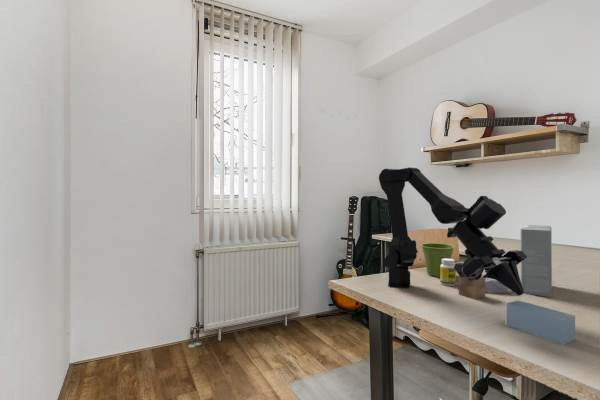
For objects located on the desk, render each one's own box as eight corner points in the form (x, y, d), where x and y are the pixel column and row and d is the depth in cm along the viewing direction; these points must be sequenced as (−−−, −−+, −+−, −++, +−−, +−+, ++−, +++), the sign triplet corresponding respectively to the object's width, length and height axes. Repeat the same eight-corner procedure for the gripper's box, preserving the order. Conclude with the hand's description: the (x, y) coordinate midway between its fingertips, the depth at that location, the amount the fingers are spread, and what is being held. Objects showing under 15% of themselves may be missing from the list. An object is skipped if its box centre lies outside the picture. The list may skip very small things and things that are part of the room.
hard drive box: (523, 281, 106) (523, 224, 106) (551, 285, 101) (552, 225, 101) (519, 292, 94) (520, 228, 94) (552, 298, 89) (552, 229, 89)
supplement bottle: (449, 286, 101) (449, 261, 101) (437, 283, 105) (437, 258, 105) (458, 284, 103) (458, 259, 103) (446, 281, 107) (446, 257, 107)
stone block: (478, 298, 95) (512, 294, 93) (474, 283, 95) (509, 278, 93) (464, 288, 106) (495, 284, 105) (461, 275, 107) (491, 270, 105)
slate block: (505, 303, 71) (563, 320, 61) (517, 299, 73) (575, 315, 63) (505, 324, 71) (563, 345, 61) (517, 320, 73) (575, 339, 63)
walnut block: (458, 294, 93) (458, 274, 93) (469, 292, 95) (469, 272, 95) (474, 299, 88) (474, 278, 88) (485, 296, 91) (485, 276, 91)
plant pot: (414, 272, 120) (414, 243, 120) (438, 270, 123) (438, 242, 123) (435, 280, 108) (435, 248, 108) (462, 277, 112) (462, 247, 112)
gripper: (475, 255, 89) (516, 304, 79) (431, 262, 80) (472, 318, 71) (503, 231, 82) (553, 282, 72) (459, 235, 73) (509, 293, 64)
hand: (521, 294), depth 70 cm, fingers closed
